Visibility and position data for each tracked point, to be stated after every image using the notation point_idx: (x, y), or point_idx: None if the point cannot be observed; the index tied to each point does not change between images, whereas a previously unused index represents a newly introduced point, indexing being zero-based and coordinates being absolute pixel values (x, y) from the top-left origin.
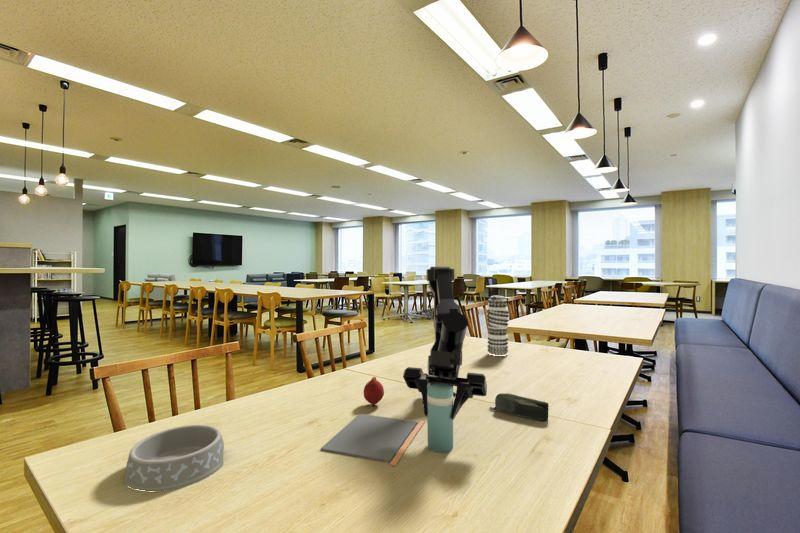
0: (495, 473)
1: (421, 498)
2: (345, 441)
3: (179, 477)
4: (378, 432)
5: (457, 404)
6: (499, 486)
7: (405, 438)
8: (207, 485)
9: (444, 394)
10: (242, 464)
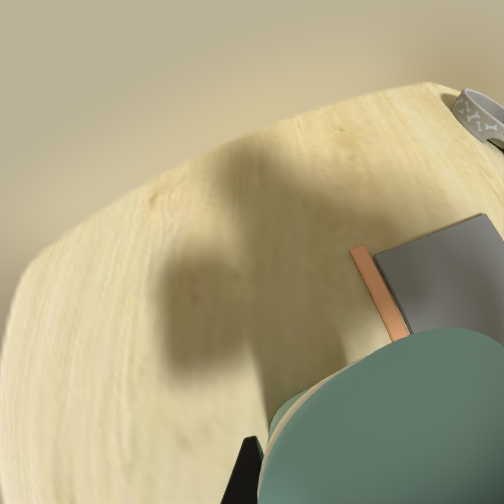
0: (106, 367)
1: (222, 198)
2: (492, 258)
3: (456, 105)
4: None
5: (223, 501)
6: (91, 317)
7: None
8: (447, 118)
9: (304, 406)
10: (477, 149)
